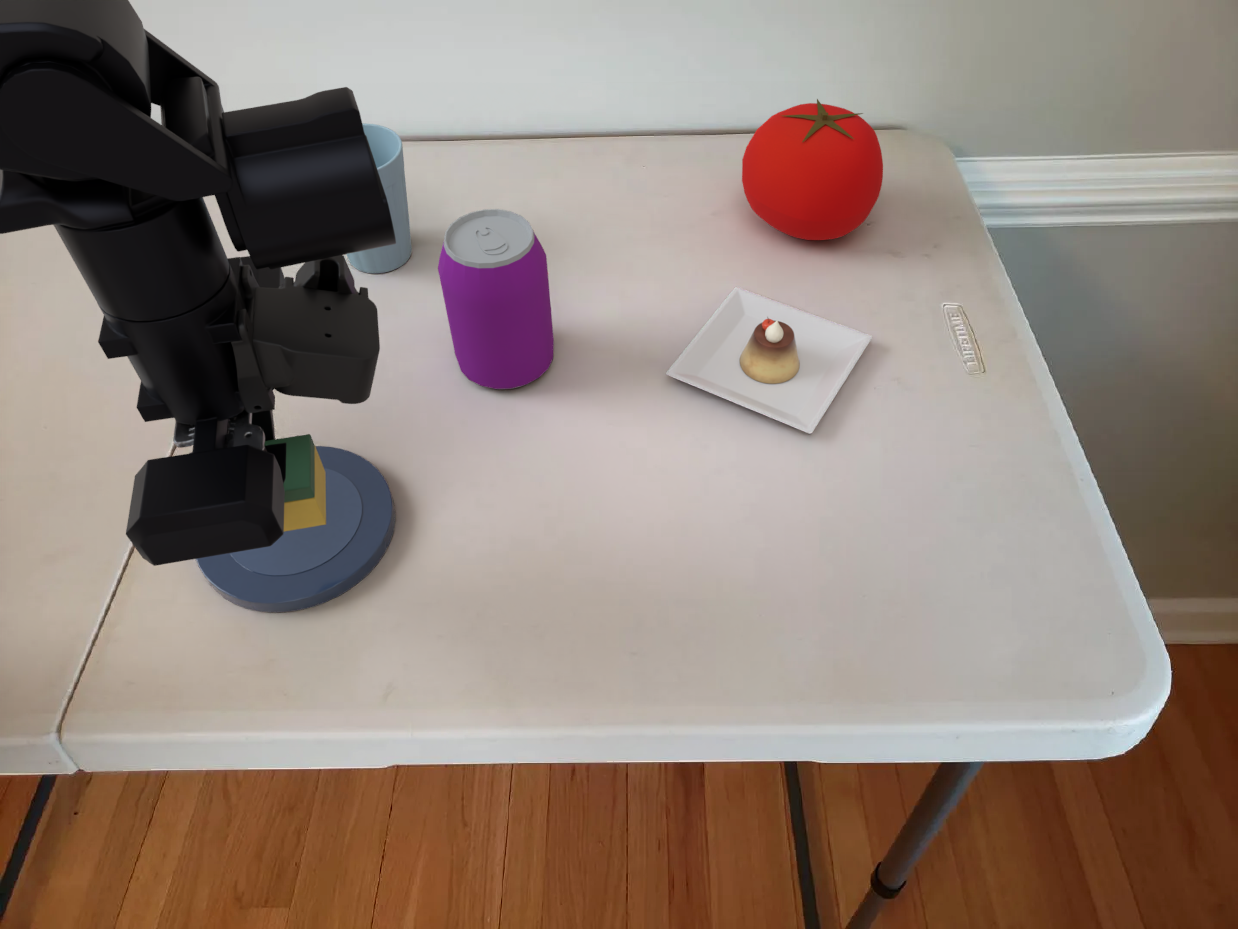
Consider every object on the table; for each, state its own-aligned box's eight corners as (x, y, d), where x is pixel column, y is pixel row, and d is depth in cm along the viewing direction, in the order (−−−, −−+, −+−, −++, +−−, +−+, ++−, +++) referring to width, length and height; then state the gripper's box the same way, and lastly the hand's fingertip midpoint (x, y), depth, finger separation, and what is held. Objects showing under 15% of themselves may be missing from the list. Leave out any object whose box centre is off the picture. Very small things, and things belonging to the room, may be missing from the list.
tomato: (892, 212, 85) (920, 105, 76) (833, 279, 79) (857, 171, 70) (778, 170, 89) (793, 65, 81) (714, 230, 83) (723, 124, 75)
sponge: (217, 543, 52) (195, 505, 49) (222, 488, 54) (201, 450, 52) (326, 524, 53) (310, 486, 50) (325, 472, 55) (310, 433, 53)
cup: (442, 242, 82) (421, 136, 74) (389, 292, 78) (361, 185, 70) (374, 219, 85) (346, 114, 77) (319, 266, 80) (284, 160, 72)
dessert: (734, 296, 77) (740, 249, 74) (870, 346, 73) (882, 299, 70) (664, 384, 71) (666, 337, 67) (809, 444, 67) (819, 398, 63)
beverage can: (443, 348, 74) (416, 222, 64) (530, 317, 76) (516, 191, 67) (481, 409, 69) (457, 284, 60) (572, 374, 72) (563, 248, 62)
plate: (192, 630, 57) (184, 620, 56) (206, 473, 66) (199, 462, 65) (402, 591, 59) (398, 580, 58) (390, 442, 67) (386, 431, 66)
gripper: (354, 400, 36) (421, 608, 48) (344, 146, 48) (399, 364, 60) (52, 446, 35) (199, 648, 47) (118, 172, 46) (221, 390, 58)
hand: (267, 496), depth 53 cm, fingers closed on sponge, 4 cm apart
